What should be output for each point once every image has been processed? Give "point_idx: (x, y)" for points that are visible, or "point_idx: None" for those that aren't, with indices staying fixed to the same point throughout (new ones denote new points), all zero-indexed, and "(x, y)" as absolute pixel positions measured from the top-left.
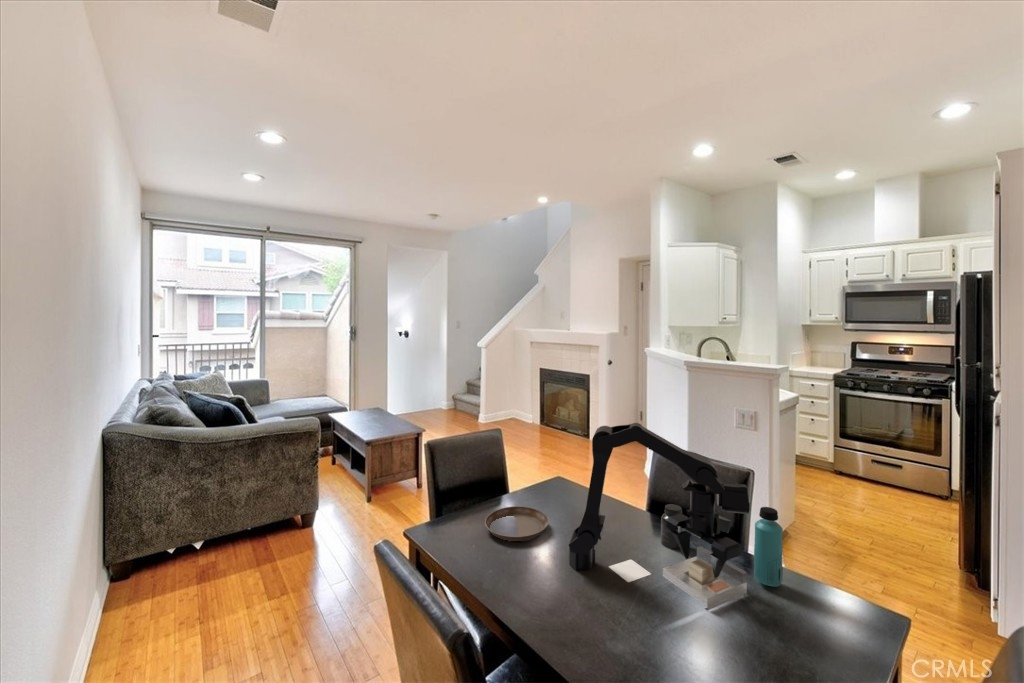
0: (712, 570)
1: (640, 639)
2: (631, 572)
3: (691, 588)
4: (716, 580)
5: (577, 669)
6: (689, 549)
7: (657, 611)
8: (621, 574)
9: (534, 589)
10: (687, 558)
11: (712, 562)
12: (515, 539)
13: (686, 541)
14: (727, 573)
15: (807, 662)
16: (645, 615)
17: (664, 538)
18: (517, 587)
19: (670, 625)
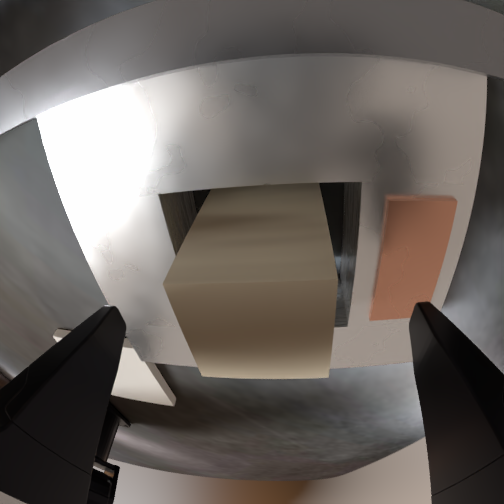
0: (332, 259)
1: (352, 442)
2: (125, 378)
3: None
4: (363, 216)
5: (338, 474)
6: (76, 353)
7: (309, 407)
8: (134, 396)
9: (164, 456)
10: (120, 316)
11: (438, 478)
12: None
13: (53, 433)
14: (349, 57)
15: None
16: (305, 423)
17: None
18: (157, 459)
19: (366, 408)
